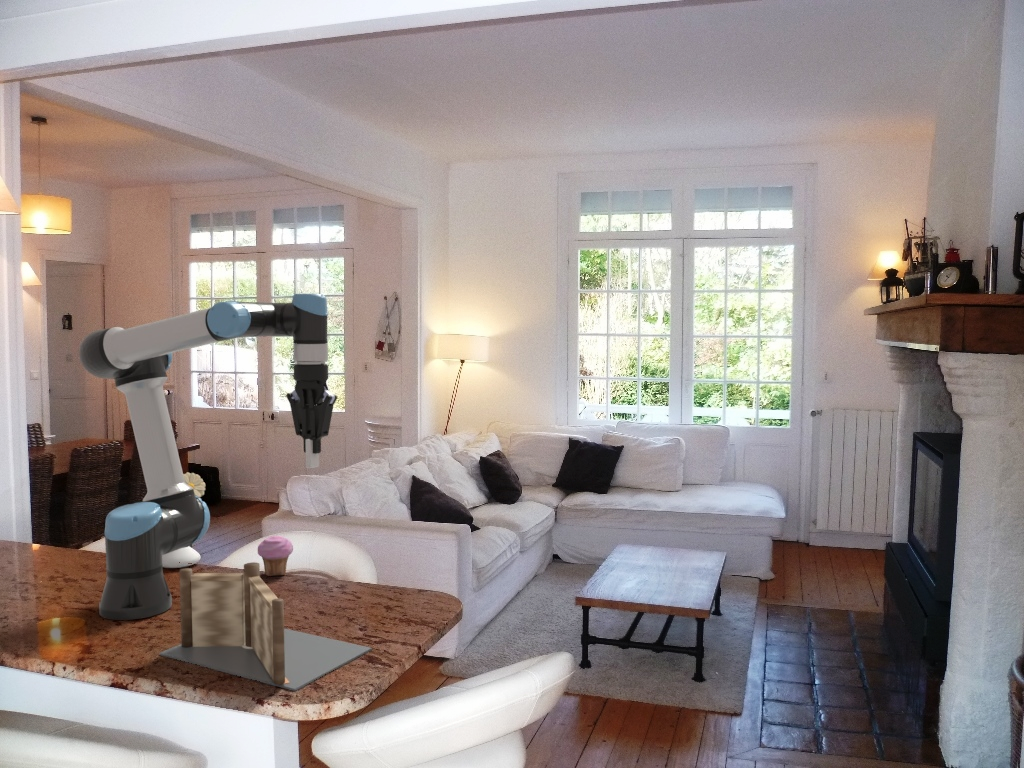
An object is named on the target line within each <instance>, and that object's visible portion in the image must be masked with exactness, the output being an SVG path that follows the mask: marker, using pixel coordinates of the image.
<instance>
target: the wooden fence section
mask: <svg viewBox="0 0 1024 768" xmlns="http://www.w3.org/2000/svg"><path fill="white" fill-rule="evenodd" d="M255 576H259V577H260V578H261V573H260V563H259V562H255V561H253V562H247V563H244V564H243V572H223V573H222V572H215V573H214V572H207V573H205V572H203V573H200V572H198V573H197V572H196V573H195V572H194V573H193V568H191V567H190V568H189V567H184V568H180V569H179V597H180V598H179V599H180V604H179V605H180V635H181V636H180V638H181V639H180V640H181V641H180V644H182V647H184V648H188V647H192V646H193V647H213V646H243V645H244V644H246V646H247V647H251V604H250V583H249V577H255Z"/></svg>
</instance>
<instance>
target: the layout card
mask: <svg viewBox="0 0 1024 768" xmlns="http://www.w3.org/2000/svg"><path fill="white" fill-rule="evenodd" d="M284 648H285V683H284V684H281V685H275V684H274V681H273V679H272V678H271V676H270V675H269V673H268V671H267V670H266V668H265V667H264V665H263V664H262V662H261V661H260V659H259V657H258V656H257V654H256V653H255V651H254V650H253V648H252V647H247V646H246V644H244V645H243V646H213V647H193V646H192V647H188V648H184V647H182V643H180V644H178V645H176V646H175V645H174V646H173V647H171V648H168V649H166V650H163V651H161V652H159V653H158V655H159V656H162V657H165V658H170V659H174V660H176V659H177V660H178V661H180V660H181V662H184V661H185V662H184V663H188V662H189V663H188V664H191V663H192V664H191V665H195V664H197V665H196V666H199V665H200V667H203V666H204V667H203V668H206V667H208V668H207V669H210V668H211V670H214V671H218V672H222V673H226V674H230V675H233V676H236V675H237V677H240V676H241V678H245V679H248V680H251V679H252V680H251V681H255V680H257V681H256V682H259V681H260V682H259V683H264V684H267V685H270V686H274V687H279V688H282V689H286V690H290V691H293V692H296V691H299V690H300V689H302V688H304V687H306V686H307V685H310V684H311V683H313V682H315V681H317V680H319V679H320V677H321V678H322V676H323V677H324V676H326V675H328V674H330V673H332V672H334V671H335V669H336V670H337V669H340V668H341V667H342V666H345V665H347V664H348V663H351V662H353V661H354V660H356V659H358V658H359V657H362V656H364V655H365V654H367V653H369V652H371V651H372V650H373V648H372V647H369V646H365V645H360V644H356V643H350V642H347V641H342V640H338V639H335V638H334V639H333V638H329V637H324V636H320V635H316V634H310V633H308V632H302V631H298V630H292V629H289V628H285V627H284ZM333 670H334V671H333ZM331 671H332V672H331ZM329 672H330V673H329ZM327 673H328V674H327ZM325 674H326V675H325ZM316 679H317V680H316ZM314 680H315V681H314ZM309 683H310V684H309Z"/></svg>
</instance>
